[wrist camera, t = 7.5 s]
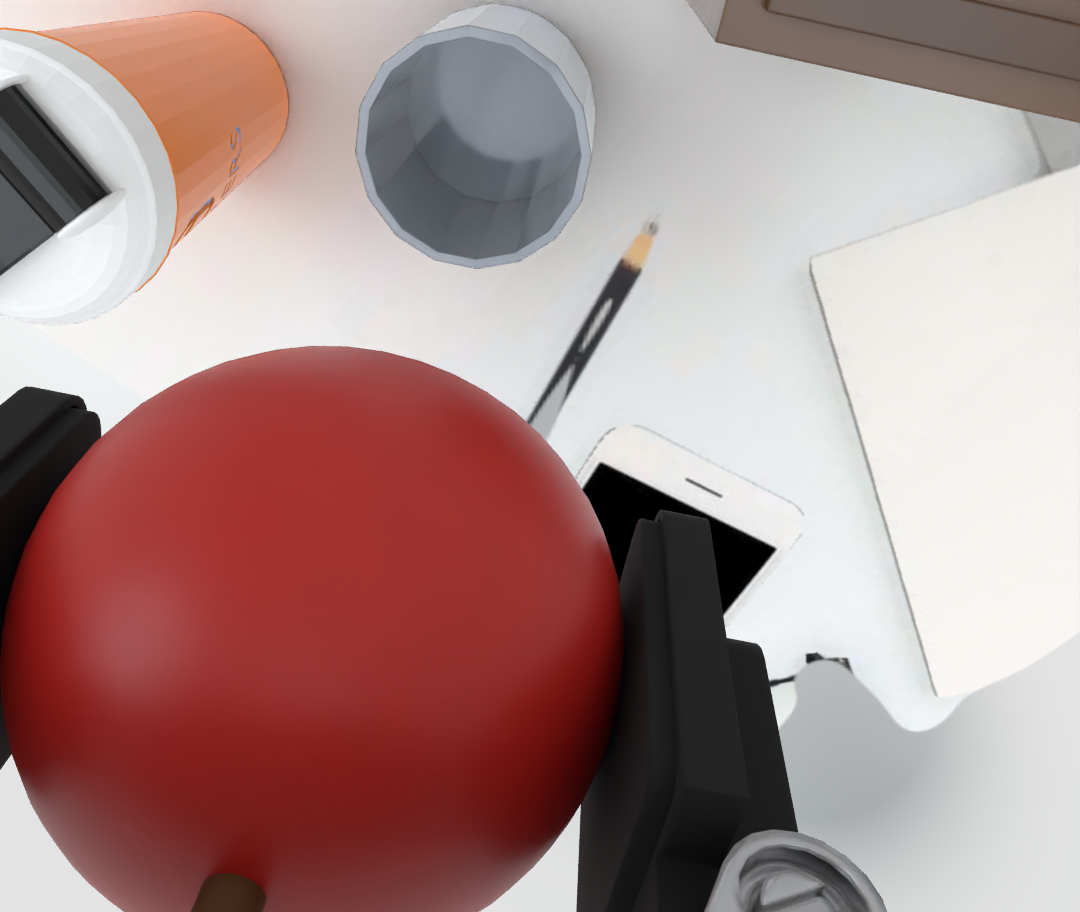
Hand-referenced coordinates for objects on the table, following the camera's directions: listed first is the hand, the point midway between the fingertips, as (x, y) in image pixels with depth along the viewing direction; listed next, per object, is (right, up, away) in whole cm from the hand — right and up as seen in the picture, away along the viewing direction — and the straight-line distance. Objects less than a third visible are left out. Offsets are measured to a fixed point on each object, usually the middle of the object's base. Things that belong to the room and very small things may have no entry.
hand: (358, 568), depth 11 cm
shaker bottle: (-13, +18, +34) cm, 41 cm away
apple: (0, +1, +2) cm, 2 cm away
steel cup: (0, +17, +33) cm, 37 cm away
